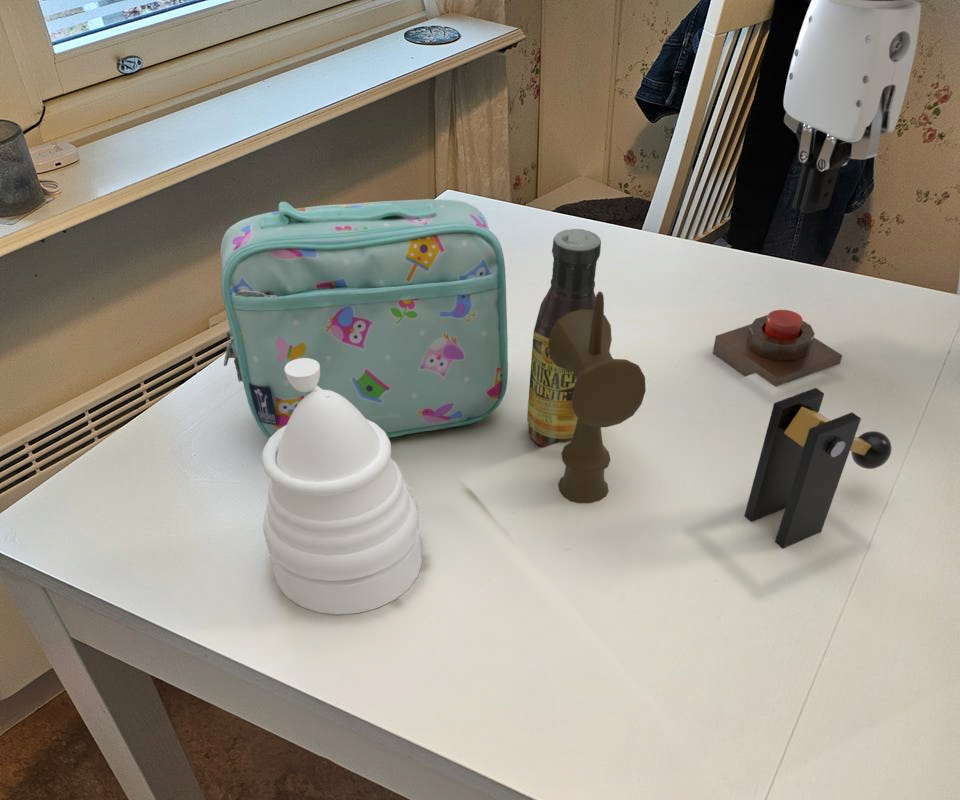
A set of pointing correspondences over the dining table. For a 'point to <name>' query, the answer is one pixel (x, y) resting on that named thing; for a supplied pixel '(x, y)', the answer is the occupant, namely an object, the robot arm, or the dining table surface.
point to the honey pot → (337, 505)
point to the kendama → (592, 397)
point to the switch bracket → (800, 469)
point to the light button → (783, 325)
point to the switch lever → (865, 449)
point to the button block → (774, 353)
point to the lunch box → (370, 310)
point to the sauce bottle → (566, 294)
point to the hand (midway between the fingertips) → (810, 207)
